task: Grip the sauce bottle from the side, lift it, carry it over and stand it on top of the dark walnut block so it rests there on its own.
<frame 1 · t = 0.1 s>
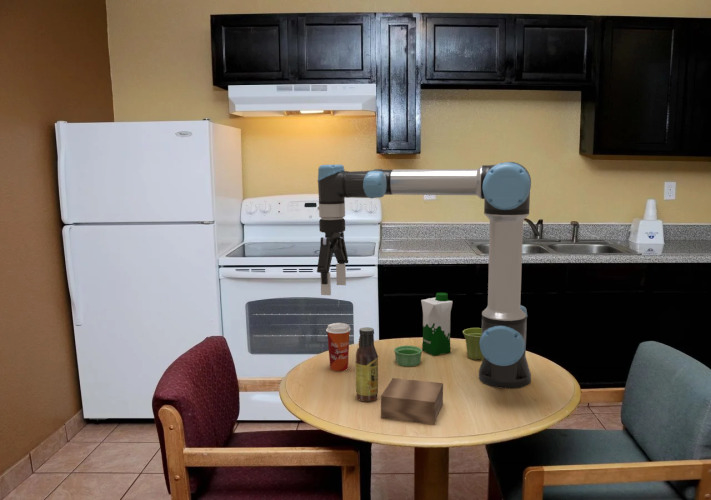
hand: (333, 289, 177), 28 cm above the table, tool pointing down, fingers open, 13 cm apart
sauce bottle: (367, 398, 168), on the table
plant pot: (476, 357, 200), on the table
paper cup: (339, 368, 191), on the table
walnut block: (412, 410, 159), on the table
tin: (366, 356, 203), on the table
ramekin: (408, 363, 195), on the table
milk carton: (436, 351, 206), on the table
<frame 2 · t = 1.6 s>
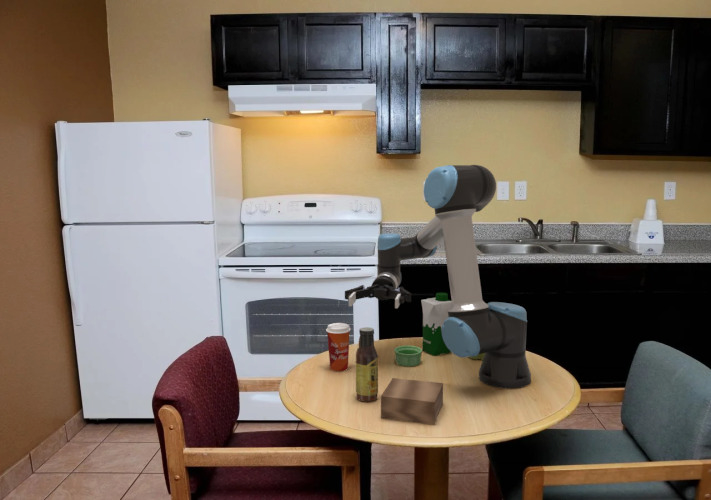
hand: (372, 302, 173), 25 cm above the table, tool horizontal, fingers open, 13 cm apart
nothing on the table moved.
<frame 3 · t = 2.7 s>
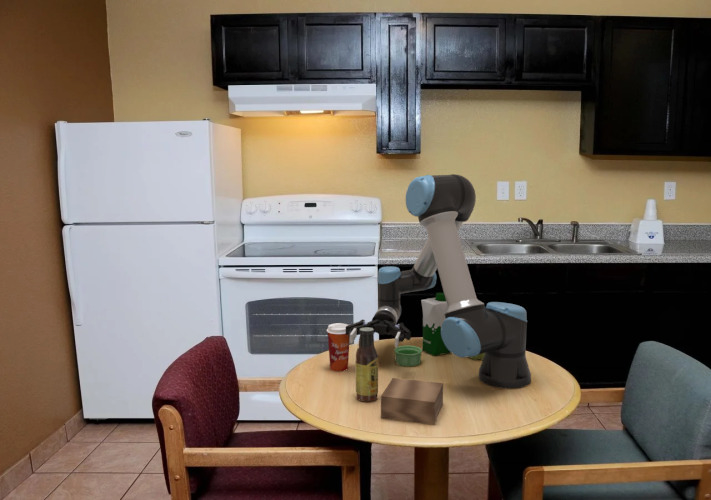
hand: (373, 341, 175), 13 cm above the table, tool horizontal, fingers open, 13 cm apart
nothing on the table moved.
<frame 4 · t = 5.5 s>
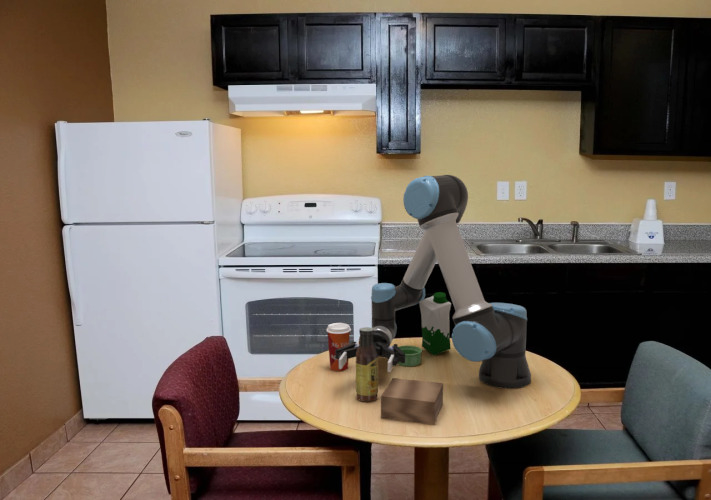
hand: (364, 365, 163), 10 cm above the table, tool horizontal, fingers open, 13 cm apart
milk carton: (436, 348, 205), point 1 cm above the table
everything else where it was.
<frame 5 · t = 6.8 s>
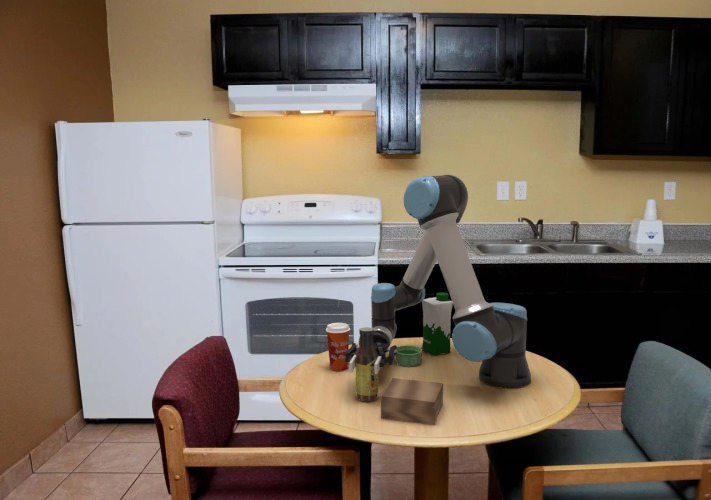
hand: (363, 368, 161), 11 cm above the table, tool horizontal, fingers closed on sauce bottle, 6 cm apart
sauce bottle: (367, 398, 168), on the table, touching gripper
milk carton: (436, 351, 206), on the table
everything else where it was.
when the fingers open (17 cm above the table, at t = 11.5 s): sauce bottle stays where it is, resting on walnut block.
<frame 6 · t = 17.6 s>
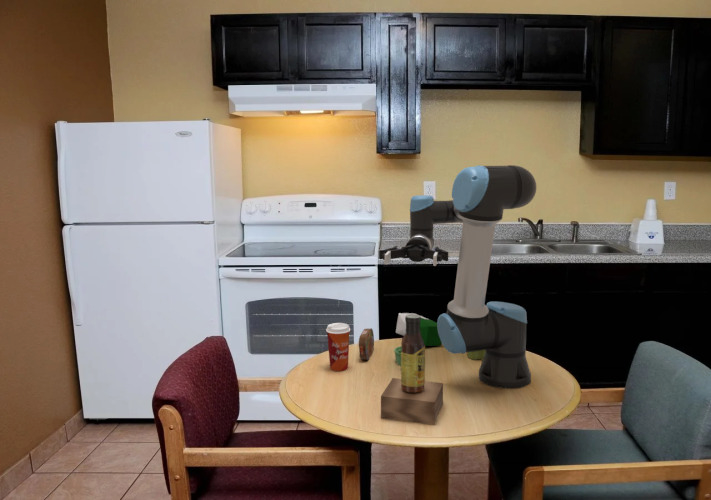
hand: (409, 260, 167), 38 cm above the table, tool horizontal, fingers open, 13 cm apart
sauce bottle: (412, 390, 158), point 6 cm above the table, touching walnut block
milk carton: (435, 336, 209), point 4 cm above the table
everything else where it was.
at the end: sauce bottle inside the target area on the walnut block (0.1 cm from its centre), point 5.8 cm above the walnut block's base; sauce bottle tilted 0°; the gripper is holding nothing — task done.
